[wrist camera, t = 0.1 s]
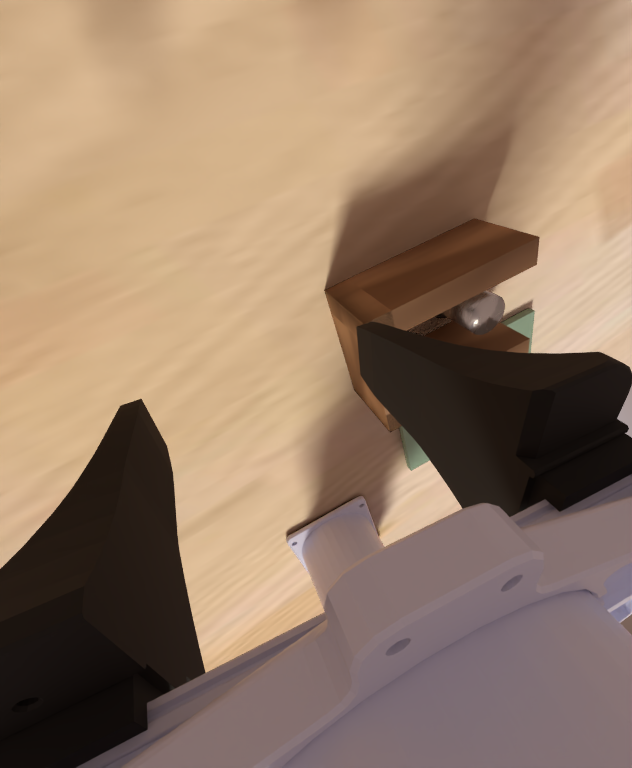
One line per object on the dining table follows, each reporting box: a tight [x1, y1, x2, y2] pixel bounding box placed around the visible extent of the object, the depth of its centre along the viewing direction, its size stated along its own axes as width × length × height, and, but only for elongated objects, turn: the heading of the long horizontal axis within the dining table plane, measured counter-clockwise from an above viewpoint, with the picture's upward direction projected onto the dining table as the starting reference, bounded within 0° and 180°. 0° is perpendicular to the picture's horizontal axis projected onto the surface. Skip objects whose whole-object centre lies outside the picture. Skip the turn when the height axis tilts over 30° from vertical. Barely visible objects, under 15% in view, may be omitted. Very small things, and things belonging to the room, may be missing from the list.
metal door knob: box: [435, 290, 505, 335], centre depth 25 cm, size 3×3×4 cm
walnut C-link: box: [324, 219, 539, 432], centre depth 24 cm, size 8×11×5 cm
